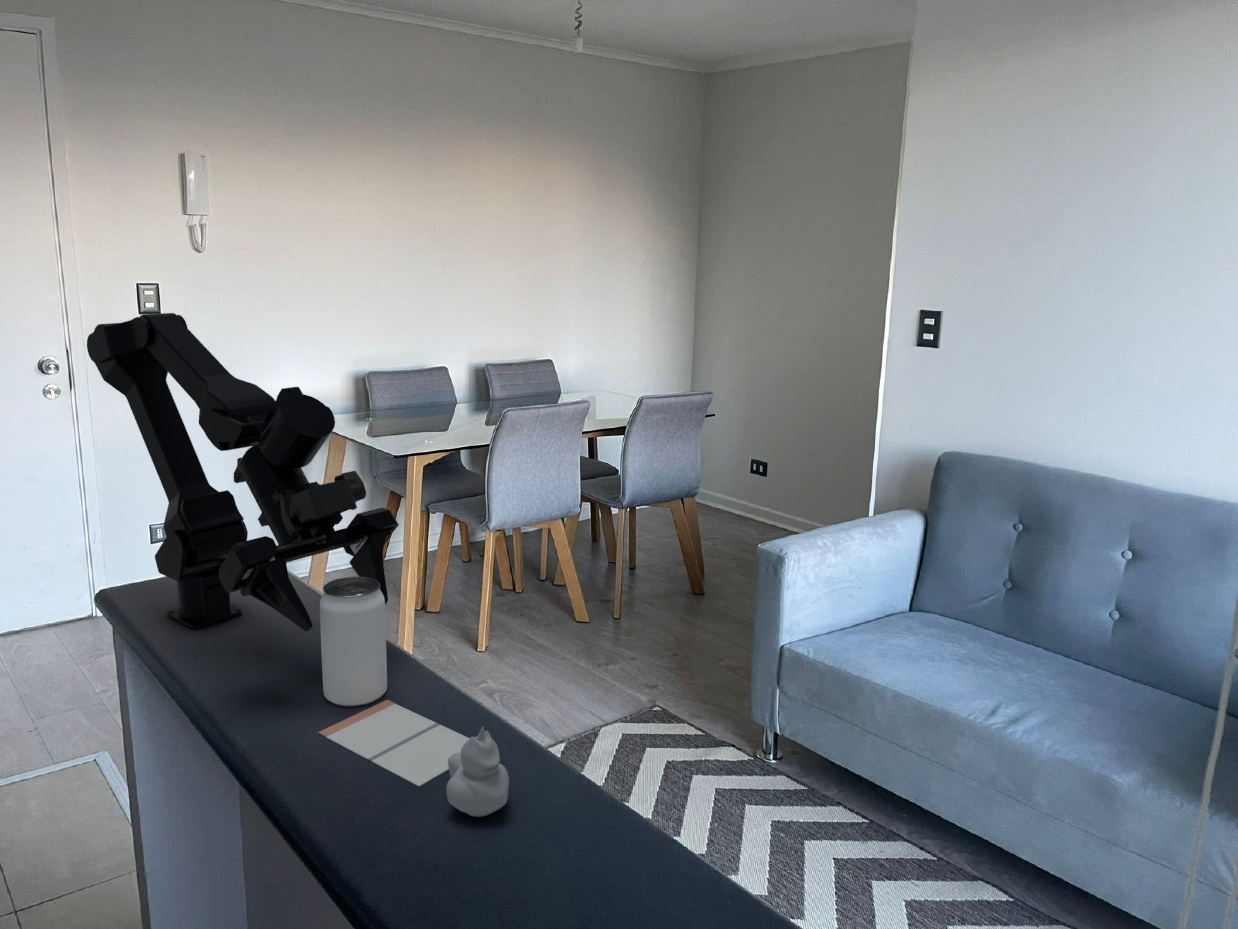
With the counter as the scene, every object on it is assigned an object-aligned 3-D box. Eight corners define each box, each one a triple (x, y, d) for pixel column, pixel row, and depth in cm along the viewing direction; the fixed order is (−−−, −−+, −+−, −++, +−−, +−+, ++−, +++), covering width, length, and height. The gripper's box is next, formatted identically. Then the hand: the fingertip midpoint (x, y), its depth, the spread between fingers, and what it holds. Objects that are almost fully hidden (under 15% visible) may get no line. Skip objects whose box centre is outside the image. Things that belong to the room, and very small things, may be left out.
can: (349, 715, 96) (345, 603, 93) (310, 694, 100) (305, 586, 97) (400, 692, 101) (397, 585, 98) (361, 673, 105) (357, 570, 102)
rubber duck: (475, 837, 78) (475, 748, 76) (426, 802, 82) (425, 718, 80) (525, 809, 82) (526, 724, 80) (476, 778, 86) (476, 697, 84)
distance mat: (318, 733, 92) (318, 732, 92) (387, 701, 99) (387, 699, 99) (419, 786, 84) (419, 785, 84) (486, 747, 91) (486, 746, 91)
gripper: (225, 464, 91) (296, 603, 87) (385, 436, 105) (453, 554, 101) (190, 526, 98) (255, 658, 94) (345, 492, 112) (408, 605, 108)
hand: (348, 615), depth 99 cm, fingers open, 9 cm apart
